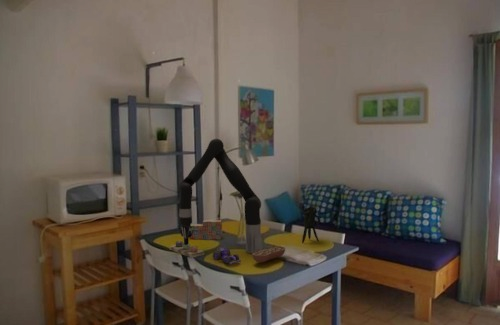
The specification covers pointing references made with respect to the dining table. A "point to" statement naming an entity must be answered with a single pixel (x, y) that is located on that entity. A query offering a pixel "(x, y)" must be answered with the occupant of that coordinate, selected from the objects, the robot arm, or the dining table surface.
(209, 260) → the dining table surface
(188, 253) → the button board
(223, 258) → the toy race car
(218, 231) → the stack of blocks
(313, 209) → the black legged piece
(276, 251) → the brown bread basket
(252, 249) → the robot arm
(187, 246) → the button
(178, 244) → the button
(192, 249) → the button
